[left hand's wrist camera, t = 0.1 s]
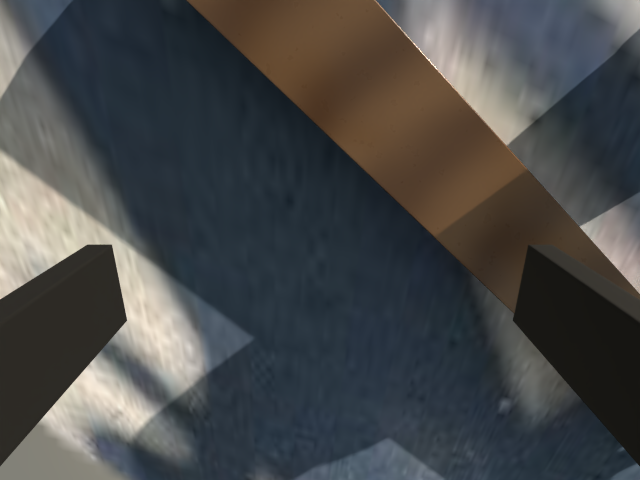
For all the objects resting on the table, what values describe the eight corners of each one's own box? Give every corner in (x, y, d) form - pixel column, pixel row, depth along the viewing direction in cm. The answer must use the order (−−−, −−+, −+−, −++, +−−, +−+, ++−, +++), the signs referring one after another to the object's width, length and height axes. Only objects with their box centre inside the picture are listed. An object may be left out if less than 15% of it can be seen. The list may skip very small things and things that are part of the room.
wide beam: (137, -52, 32) (95, -86, 26) (204, -159, 30) (175, -223, 24) (645, 435, 51) (688, 480, 45) (711, 393, 49) (767, 435, 43)
